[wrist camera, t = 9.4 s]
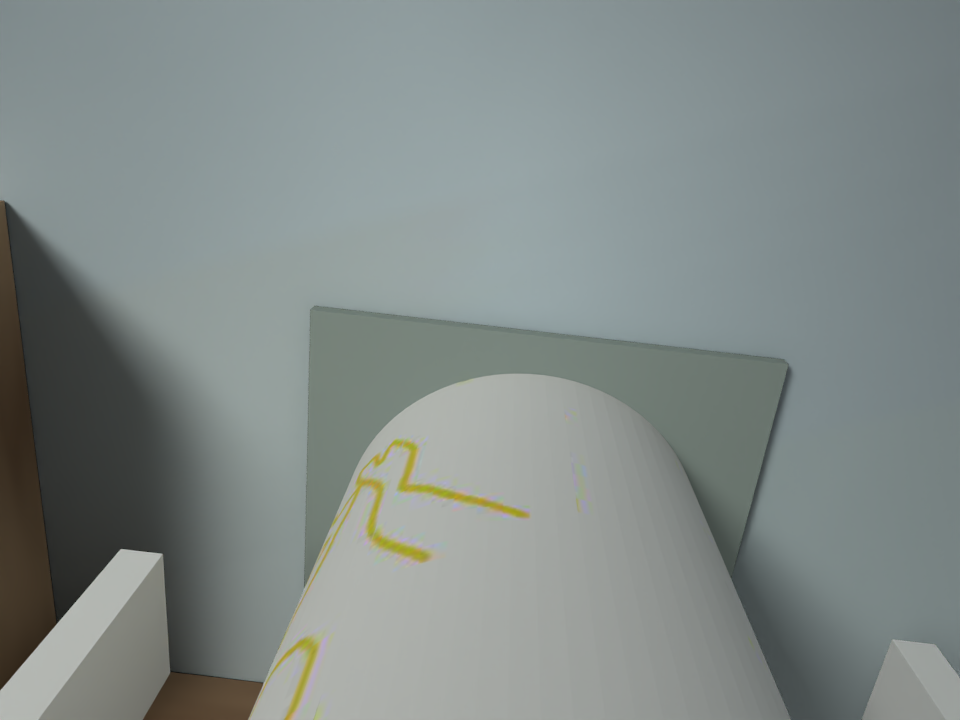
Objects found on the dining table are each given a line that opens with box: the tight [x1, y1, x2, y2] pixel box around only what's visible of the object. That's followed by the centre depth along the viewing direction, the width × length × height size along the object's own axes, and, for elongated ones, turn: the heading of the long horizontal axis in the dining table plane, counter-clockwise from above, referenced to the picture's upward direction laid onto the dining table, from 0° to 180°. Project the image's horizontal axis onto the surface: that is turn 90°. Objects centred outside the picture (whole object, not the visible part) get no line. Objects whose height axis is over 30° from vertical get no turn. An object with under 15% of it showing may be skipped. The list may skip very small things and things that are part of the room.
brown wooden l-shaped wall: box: [0, 201, 264, 720], centre depth 15 cm, size 14×20×6 cm
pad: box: [304, 306, 789, 588], centre depth 17 cm, size 10×10×1 cm
